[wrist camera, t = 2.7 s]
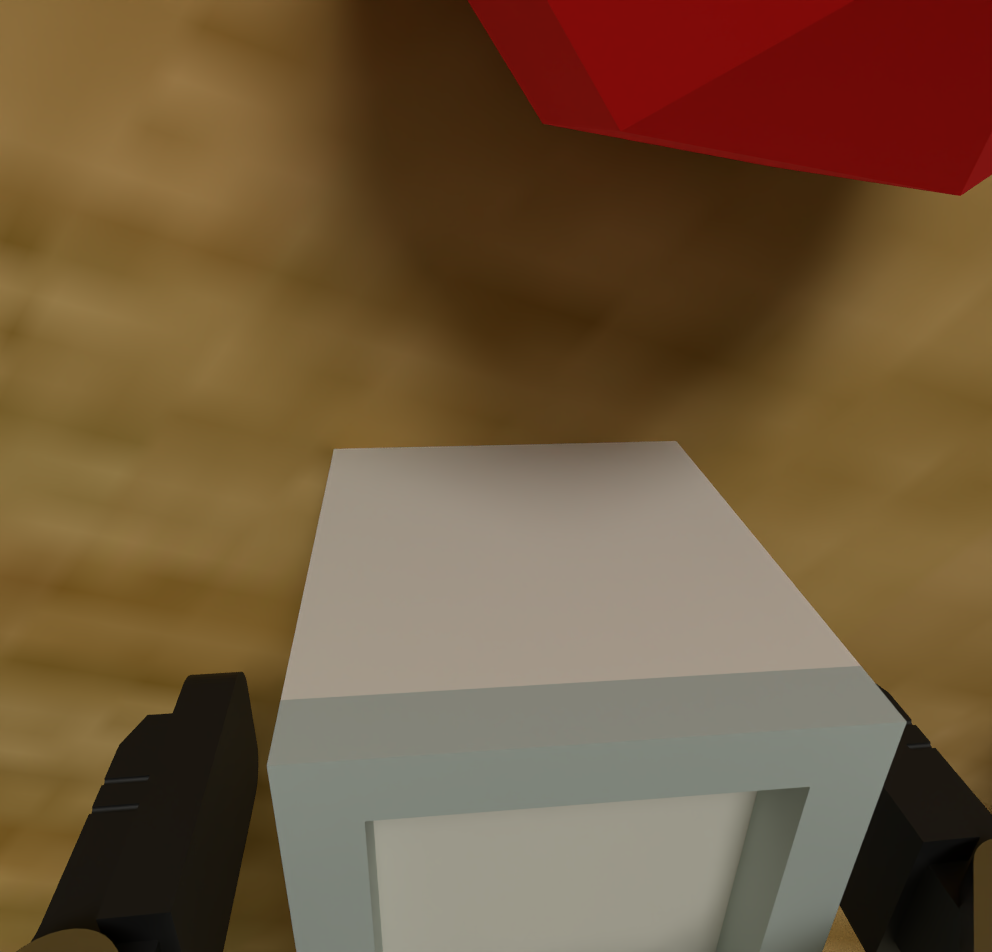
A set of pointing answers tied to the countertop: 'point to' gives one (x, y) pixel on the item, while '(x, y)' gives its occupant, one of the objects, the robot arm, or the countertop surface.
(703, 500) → the socket block
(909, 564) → the countertop surface
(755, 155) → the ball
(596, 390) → the countertop surface
